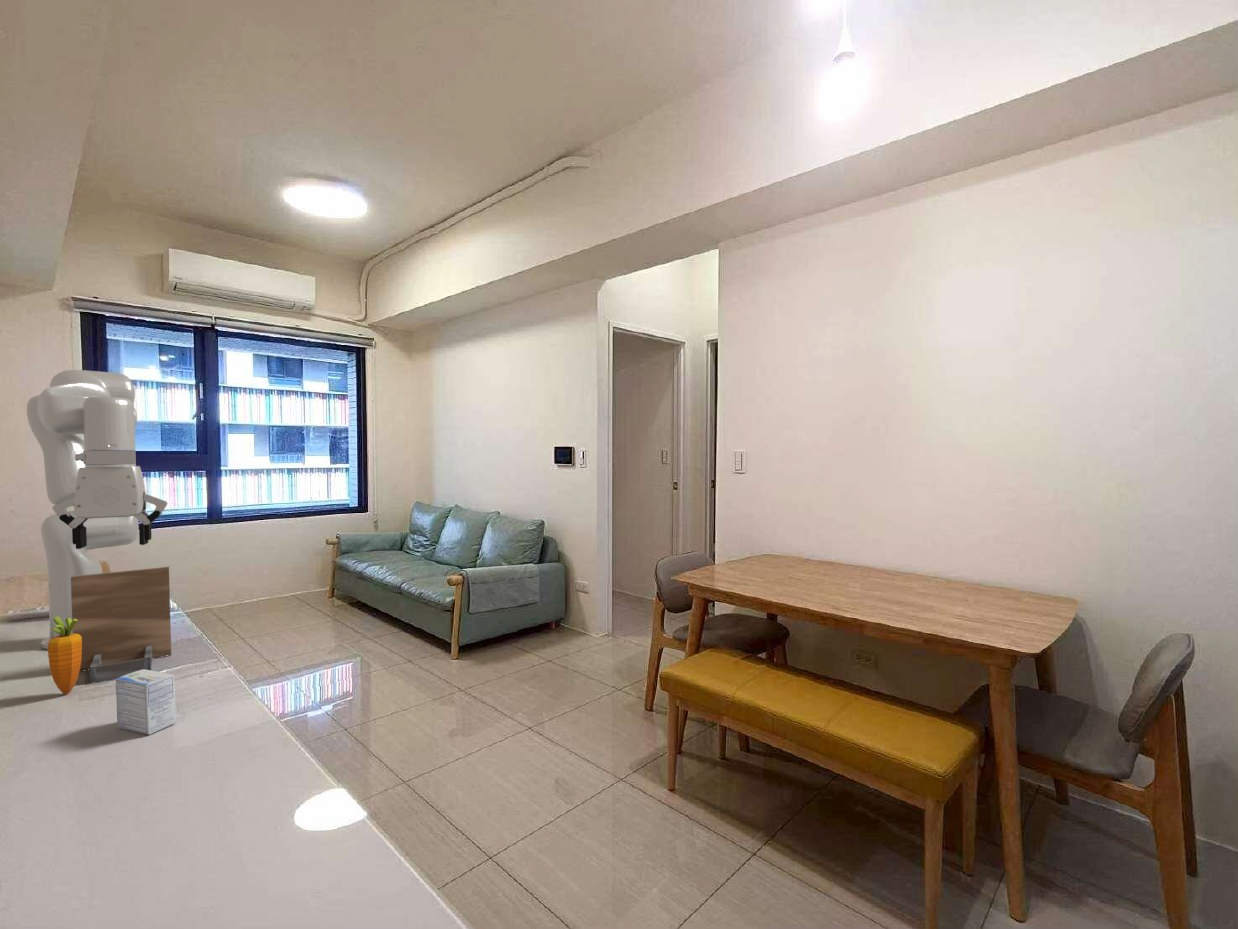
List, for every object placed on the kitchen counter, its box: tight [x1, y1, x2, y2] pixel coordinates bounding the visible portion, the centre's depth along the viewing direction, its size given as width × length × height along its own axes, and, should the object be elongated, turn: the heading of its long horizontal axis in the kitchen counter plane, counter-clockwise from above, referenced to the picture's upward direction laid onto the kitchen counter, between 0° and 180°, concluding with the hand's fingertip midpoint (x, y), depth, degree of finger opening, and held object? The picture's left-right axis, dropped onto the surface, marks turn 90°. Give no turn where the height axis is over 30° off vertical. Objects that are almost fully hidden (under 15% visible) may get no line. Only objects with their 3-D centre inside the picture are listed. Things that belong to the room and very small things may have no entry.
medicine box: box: [115, 669, 177, 735], centre depth 96 cm, size 8×4×9 cm, turn 71°
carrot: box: [47, 617, 82, 696], centre depth 109 cm, size 5×5×15 cm
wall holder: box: [71, 566, 172, 684], centre depth 121 cm, size 11×16×20 cm
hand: (113, 545), depth 113 cm, fingers open, 9 cm apart
